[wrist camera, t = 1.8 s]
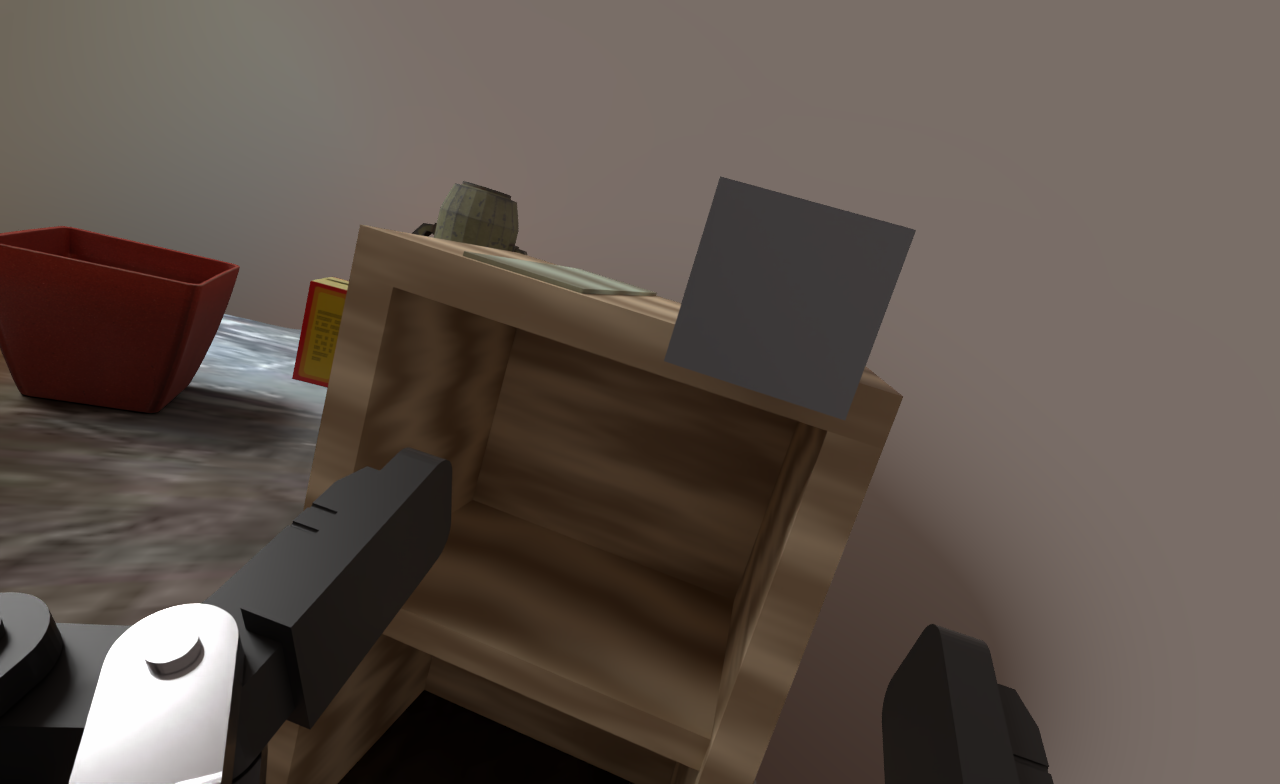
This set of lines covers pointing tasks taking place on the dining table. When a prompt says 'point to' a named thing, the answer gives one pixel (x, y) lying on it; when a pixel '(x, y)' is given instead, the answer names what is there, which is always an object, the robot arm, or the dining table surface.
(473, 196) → the thermos
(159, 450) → the dining table surface
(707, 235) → the gray rectangular bar
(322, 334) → the baking soda box
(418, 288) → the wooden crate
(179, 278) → the plant pot
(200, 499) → the dining table surface
